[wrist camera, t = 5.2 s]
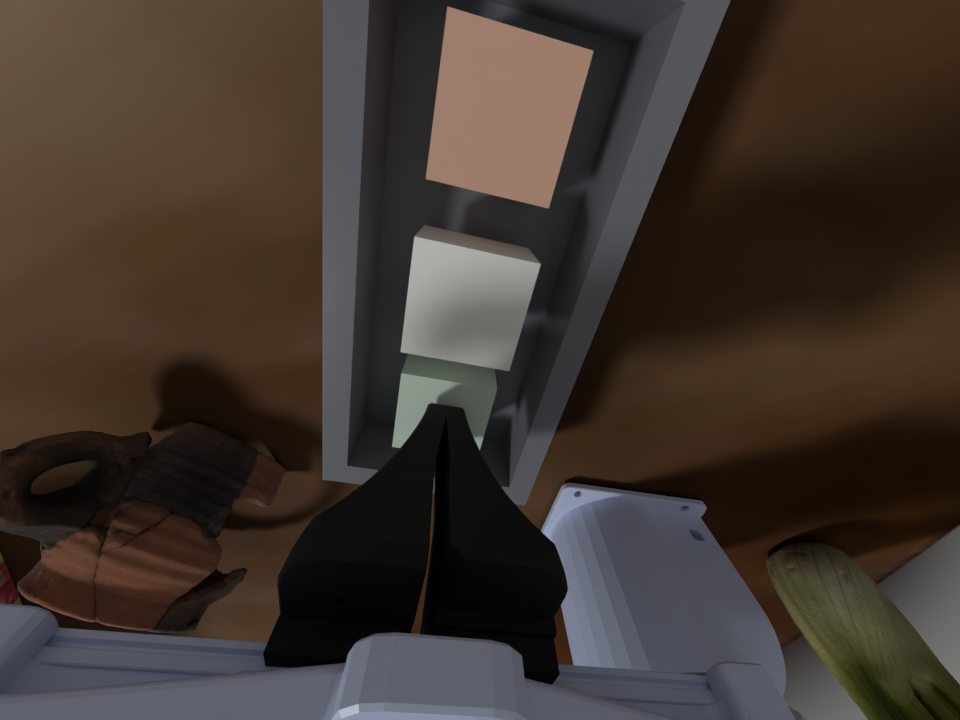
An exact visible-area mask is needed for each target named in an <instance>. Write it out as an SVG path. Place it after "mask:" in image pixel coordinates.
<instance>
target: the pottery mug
mask: <svg viewBox="0 0 960 720" xmlns="http://www.w3.org/2000/svg"><path fill="white" fill-rule="evenodd" d="M151 442H152V439H151V437H150V434H149V433H148V432H141V433H137V434H134V435H132V436H123V437H119V436H114V435H109V434H105V433H102V432H94V431H78V432H69V433H63V434H58V435H52V436H47V437H42V438H38V439H35V440H31V441H28V442H26V443H23V444H21V445H19V446H18V447H16V448H14V449H7V450H4V451H1V452H0V531H3V532H7V533H11V534H15V535H19V536H24V537H29V538H32V539H36V540H38V541H39V542H41V546H40V551H41V555H42V557H41V560H40V561H39V562H38V563H37V564H36V565H35V567H34V568H33V569H32V570H31V571H30V572H29V573H28V574H27V575H25V576H24V577H23V578H22V579H21V580H20V581H19V582H18V586H17V588H18V591H19V592H20V593H21V595H22V596H24V597H25V598H26V599H28V600H29V601H32V602H34V603H37V604H40V605H41V606H43V607H46V608H48V609H50V610H52V611H55V612H58V613H61V614H63V615H66V616H70V617H74V618H76V619H79V620H83V621H88V622H98V623H100V624H103V625H107V626H113V627H118V628H124V629H134V630H145V631H148V632H155V633H180V632H189V631H192V630H195V629H196V626H197V625H198V623H199V621H200V619H201V617H202V615H203V613H204V612H205V610H206V608H207V607H208V606H209V605H210V604H212V603H213V602H215V601H217V600H219V599H221V598H223V597H225V596H226V595H227V594H229V593H230V592H231V591H232V590H233V589H234V587H235V586H236V585H237V584H239V583H240V582H241V581H243V579H244V575H245V574H246V573H247V569H246V568H242V569H236V570H233V571H231V572H230V573H229V574H222V573H221V572H219V571H218V570H217V569H216V568H217V564H218V562H219V560H220V558H221V548H220V546H219V543H218V542H217V541H216V540H215V538H216V537H218V536H219V535H220V533H221V531H222V529H223V526H224V524H225V522H226V519H227V517H228V515H229V513H230V511H231V509H232V505H233V503H234V501H235V500H236V499H238V500H246V501H248V502H251V503H254V504H257V505H259V506H260V507H265V506H268V505H270V504H271V502H272V501H273V499H274V497H275V495H276V492H277V489H278V487H279V485H280V483H281V480H282V477H283V475H284V473H285V468H284V467H282V466H281V465H280V463H278V462H276V461H274V460H273V459H272V458H271V457H268V456H266V455H264V454H262V453H260V452H258V451H257V450H256V449H254V448H252V447H249V446H247V445H245V444H244V443H242V441H241V440H239V439H237V438H234V437H232V436H230V435H228V434H226V433H224V432H221V431H219V430H217V429H214V428H211V427H208V426H205V425H202V424H198V423H195V422H187V423H186V424H184V425H183V426H182V427H181V428H179V429H178V430H177V431H175V432H174V433H173V434H171V435H169V436H167V437H165V438H164V439H162V440H161V441H160V442H159V443H157V444H155V445H153V446H151V447H149V445H150V444H151ZM85 460H86V461H88V462H89V469H88V471H87V473H86V475H85V476H84V477H83V478H81V479H78V480H77V481H75V482H74V483H73V484H72V485H71V486H69V487H66V488H63V489H60V490H57V491H55V492H52V493H49V494H43V495H37V494H33V493H31V484H32V482H33V481H34V480H35V479H36V478H37V477H38V476H40V475H41V474H42V473H44V472H46V471H48V470H50V469H52V468H54V467H57V466H60V465H64V464H68V463H74V462H79V461H85ZM118 502H119V505H118V507H117V508H116V509H114V510H113V511H112V513H111V516H110V518H109V520H108V522H107V523H106V524H105V526H103V525H91V524H90V522H91V521H92V519H93V518H94V516H95V515H96V512H97V511H98V510H99V509H102V508H105V507H107V506H110V505H112V504H115V503H118Z"/></svg>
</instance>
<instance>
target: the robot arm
mask: <svg viewBox="0 0 960 720" xmlns="http://www.w3.org/2000/svg"><path fill="white" fill-rule="evenodd" d="M434 474H435V491H434V524H433V537H432V545H431V553H430V561H429V569H428V577H427V585H426V593H425V600H424V608H423V616H422V623H421V631H420V634H410V633H411V629H412V626H413V624H414V619H415V615H416V611H417V607H418V603H419V599H420V594H421V590H422V586H423V582H424V578H425V574H426V569H427V562H428V553H429V543H430V524H431V509H432V496H433V485H434ZM577 491H578V492H577ZM706 509H707V507H706V505H705V504H704V503H703V502H702V501H700V500H692V499H685V498H678V497H671V496H664V495H656V494H649V493H642V492H635V491H627V490H620V489H613V488H606V487H599V486H591V485H584V484H577V483H565V484H564V485H562V487H561V488H560V490H559V493H558V495H557V497H556V499H555V501H554V503H553V506H552V508H551V510H550V512H549V514H548V516H547V519H546V521H545V523H544V525H543V527H542V529H541V531H540V530H539V529H538V528H537V527H535V526H534V525H533V524H532V523H531V522H530V521H529V519H528V518H527V517H526V516H525V515H524V514H523V513H522V512H521V511H520V510H519V509H518V507H517V506H516V505H515V504H514V503H513V501H512V500H511V499H510V498H509V497H508V495H507V494H506V493H505V491H504V490H503V488H502V487H501V486H500V484H499V483H498V481H497V480H496V478H495V477H494V475H493V474H492V472H491V470H490V469H489V467H488V465H487V464H486V462H485V460H484V458H483V456H482V454H481V452H480V450H479V448H478V446H477V444H476V441H475V439H474V437H473V434H472V432H471V429H470V427H469V424H468V421H467V418H466V414H465V411H464V409H463V408H460V407H454V406H448V405H441V404H435V403H430V404H428V406H427V409H426V411H425V413H424V415H423V417H422V419H421V420H420V422H419V424H418V425H417V427H416V428H415V430H414V431H413V432H412V434H411V435H410V437H409V438H408V439H407V440H406V442H405V443H404V444H403V445H402V447H401V448H400V449H399V450H398V451H397V452H396V454H395V455H394V456H393V457H392V458H391V459H390V460H389V461H388V462H387V463H386V464H385V465H384V466H383V467H382V468H381V469H380V470H379V471H377V472H376V473H375V474H374V475H373V476H372V477H371V478H370V479H368V480H367V481H366V482H365V483H364V484H362V485H361V486H360V487H358V488H357V489H356V490H354V491H353V492H352V493H350V494H349V495H348V496H346V497H345V498H344V499H342V500H341V501H339V502H338V503H336V504H334V505H333V506H331V507H330V508H328V509H326V510H325V511H323V512H322V513H320V514H319V515H317V516H315V517H314V518H313V519H312V521H311V522H310V523H309V525H308V526H307V527H306V529H305V530H304V531H303V533H302V534H301V536H300V537H299V539H298V540H297V542H296V543H295V545H294V547H293V548H292V550H291V552H290V553H289V555H288V558H287V560H286V562H285V564H284V566H283V568H282V570H281V572H280V574H279V577H278V584H277V586H278V595H279V605H280V616H279V618H278V620H277V622H276V625H275V627H274V629H273V632H272V634H271V636H270V639H269V641H268V643H263V642H249V641H236V640H222V639H208V638H195V637H181V636H168V635H154V634H140V633H127V632H113V631H100V630H86V629H72V628H59V625H58V622H57V619H56V618H55V616H54V615H53V614H52V613H51V612H50V611H48V610H45V609H43V608H40V607H35V606H27V605H15V604H2V603H0V720H806V719H805V718H804V717H803V715H801V714H800V713H799V712H798V711H796V710H794V709H792V708H791V707H789V706H787V704H786V702H785V701H784V699H783V694H784V691H785V685H786V670H785V664H784V659H783V655H782V652H781V648H780V644H779V641H778V639H777V636H776V634H775V631H774V629H773V627H772V625H771V623H770V621H769V619H768V617H767V616H766V614H765V613H764V611H763V609H762V608H761V606H760V605H759V603H758V602H757V600H756V599H755V597H754V596H753V594H752V593H751V591H750V590H749V588H748V587H747V585H746V584H745V583H744V581H743V580H742V578H741V577H740V575H739V574H738V572H737V571H736V569H735V568H734V566H733V565H732V563H731V562H730V560H729V559H728V557H727V556H726V554H725V553H724V551H723V550H722V548H721V547H720V545H719V544H718V542H717V541H716V539H715V538H714V536H713V535H712V533H711V532H710V530H709V529H708V527H707V526H706V524H705V523H704V522H703V520H702V519H701V517H702V515H703V514H704V513H705V511H706ZM560 606H561V607H562V612H563V617H564V622H565V626H566V631H567V636H568V641H569V645H570V650H571V655H572V659H573V664H574V665H562V664H558V661H557V655H556V650H555V644H554V639H553V638H555V636H556V626H555V621H554V616H555V614H556V612H557V611H558V609H559V607H560Z"/></svg>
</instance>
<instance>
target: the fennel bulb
mask: <svg viewBox="0 0 960 720" xmlns="http://www.w3.org/2000/svg"><path fill="white" fill-rule="evenodd" d="M765 562H766V563H765V564H766V566H767V569H768V572H769V575H770V577H771V581H772V584H773V585H774V587H775V589H776V591H777V593H778V595H779V597H780V598H781V600H782V602H783V603H784V605H785V607H786V608H787V610H788V612H789V614H790V615H791V617H792V619H793V620H794V622H795V623H796V625H797V626H798V627H799V629H800V630H801V632H802V633H803V635H804V636H805V638H806V639H807V641H808V642H809V644H810V645H811V646H812V648H813V649H814V651H815V652H816V653H817V654H818V656H819V657H820V658H821V659H822V661H823V663H824V664H825V665H826V666H827V667H828V668H829V670H830V671H831V672H832V674H833V675H834V676H835V677H836V678H837V679H838V681H839V682H840V684H841V685H842V686H843V687H844V689H845V690H846V691H847V693H848V694H849V696H850V697H851V698H852V699H853V701H854V702H855V703H856V704H857V705H858V707H859V708H860V709H861V711H862V712H863V713H864V715H865V716H866V717H867V719H868V720H960V684H959V683H958V682H957V681H956V680H955V679H954V678H953V677H952V676H951V674H950V673H949V672H948V671H947V670H946V669H945V667H944V666H943V665H942V664H941V663H940V661H939V660H938V659H937V657H936V656H935V655H934V654H933V653H932V651H931V650H930V648H929V647H928V646H927V644H926V643H925V641H924V640H923V639H922V638H921V636H920V635H919V633H918V632H917V631H916V630H915V629H914V627H913V626H912V625H911V624H910V623H909V621H908V620H907V619H906V618H905V616H904V615H903V614H902V613H901V612H900V611H899V610H898V609H897V607H896V606H895V605H894V604H893V603H892V602H891V601H890V599H889V598H888V597H887V596H886V595H885V594H884V593H883V592H882V591H881V590H880V588H879V587H878V586H877V585H876V584H875V582H874V581H873V580H872V579H871V578H870V577H869V576H868V575H867V574H866V573H865V572H864V571H863V570H862V569H861V568H860V567H859V566H858V564H857V563H856V562H855V561H854V560H853V559H852V558H851V557H849V556H848V555H847V554H845V553H844V552H842V551H841V550H839V549H837V548H835V547H833V546H830V545H828V544H825V543H817V542H798V543H792V544H789V545H785V546H784V547H782V548H781V549H779V550H778V551H776V552H774V553H773V554H771V555H770V556H769V557H768V558H767V559H766V561H765Z"/></svg>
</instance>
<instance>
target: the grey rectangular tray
mask: <svg viewBox="0 0 960 720" xmlns="http://www.w3.org/2000/svg"><path fill="white" fill-rule="evenodd" d="M730 1H731V0H323V382H322V480H329V481H337V482H345V483H353V484H361V485H362V484H364V483H365V482H366V481H367V480H368V479H370V478H371V477H372V476H373V475H374V474H375V473H376V472H377V471H379V470H380V469H381V468H382V467H383V466H384V465H385V464H386V463H387V462H388V461H389V460H390V459H391V458H392V457H393V456H394V455H395V454H396V452H397V451H398V450H399V449H400V448H396V447H392V443H393V435H394V427H395V419H396V411H397V403H398V395H399V387H400V379H401V372H402V369H403V367H404V364H405V361H406V358H407V355H408V353H403V352H400V351H401V343H402V334H403V326H404V318H405V310H406V301H407V293H408V285H409V276H410V268H411V260H412V251H413V243H414V236H415V235H416V234H417V233H418V232H419V231H420V229H421V228H422V227H423V226H424V225H427V226H432V227H436V228H441V229H445V230H450V231H454V232H458V233H463V234H467V235H472V236H476V237H481V238H485V239H490V240H494V241H499V242H503V243H508V244H512V245H517V246H521V247H526V248H529V250H530V251H531V252H532V253H533V255H534V256H535V257H536V258H537V260H538V261H539V262H540V263H541V266H540V269H539V272H538V276H537V279H536V282H535V286H534V289H533V293H532V296H531V299H530V303H529V306H528V310H527V313H526V316H525V320H524V323H523V326H522V330H521V333H520V337H519V340H518V343H517V347H516V350H515V353H514V357H513V360H512V364H511V367H510V370H509V371H505V370H499V369H495V376H496V384H497V392H496V395H495V399H494V402H493V406H492V409H491V413H490V416H489V420H488V423H487V427H486V430H485V434H484V437H483V441H482V445H481V448H480V452H481V454H482V456H483V458H484V460H485V462H486V464H487V465H488V467H489V469H490V470H491V472H492V474H493V475H494V477H495V478H496V480H497V481H498V483H499V484H500V486H501V487H502V488H503V490H504V491H505V493H506V494H507V495H508V497H509V498H510V499H511V500H512V501H513V503H514V504H518V505H525V504H526V502H527V499H528V497H529V494H530V492H531V489H532V487H533V485H534V482H535V480H536V477H537V475H538V472H539V470H540V467H541V465H542V462H543V460H544V458H545V455H546V453H547V450H548V448H549V445H550V443H551V440H552V438H553V435H554V433H555V431H556V428H557V426H558V423H559V421H560V418H561V416H562V413H563V411H564V408H565V406H566V403H567V401H568V399H569V396H570V394H571V391H572V389H573V386H574V384H575V381H576V379H577V376H578V374H579V372H580V369H581V367H582V364H583V362H584V359H585V357H586V354H587V352H588V349H589V347H590V345H591V342H592V340H593V337H594V335H595V332H596V330H597V327H598V325H599V322H600V320H601V318H602V315H603V313H604V310H605V308H606V305H607V303H608V300H609V298H610V295H611V293H612V291H613V288H614V286H615V283H616V281H617V278H618V276H619V273H620V271H621V268H622V266H623V264H624V261H625V259H626V256H627V254H628V251H629V249H630V246H631V244H632V241H633V239H634V236H635V234H636V232H637V229H638V227H639V224H640V222H641V219H642V217H643V214H644V212H645V209H646V207H647V205H648V202H649V200H650V197H651V195H652V192H653V190H654V187H655V185H656V182H657V180H658V178H659V175H660V173H661V170H662V168H663V165H664V163H665V160H666V158H667V155H668V153H669V151H670V148H671V146H672V143H673V141H674V138H675V136H676V133H677V131H678V128H679V126H680V124H681V121H682V119H683V116H684V114H685V111H686V109H687V106H688V104H689V101H690V99H691V96H692V94H693V92H694V89H695V87H696V84H697V82H698V79H699V77H700V74H701V72H702V69H703V67H704V65H705V62H706V60H707V57H708V55H709V52H710V50H711V47H712V45H713V42H714V40H715V38H716V35H717V33H718V30H719V28H720V25H721V23H722V20H723V18H724V15H725V13H726V11H727V8H728V6H729V3H730ZM447 6H448V7H451V8H455V9H458V10H461V11H464V12H468V13H471V14H474V15H478V16H481V17H484V18H487V19H491V20H494V21H497V22H501V23H504V24H507V25H510V26H514V27H517V28H520V29H524V30H527V31H530V32H533V33H537V34H540V35H543V36H547V37H550V38H553V39H557V40H560V41H563V42H566V43H570V44H573V45H576V46H580V47H583V48H586V49H589V50H593V51H594V52H593V55H592V59H591V62H590V66H589V69H588V73H587V76H586V80H585V83H584V87H583V90H582V94H581V97H580V101H579V104H578V108H577V111H576V115H575V118H574V122H573V126H572V129H571V133H570V136H569V140H568V143H567V147H566V150H565V154H564V157H563V161H562V164H561V168H560V171H559V175H558V178H557V182H556V185H555V189H554V192H553V196H552V199H551V203H550V206H549V208H544V207H540V206H536V205H532V204H528V203H524V202H519V201H515V200H511V199H507V198H503V197H499V196H494V195H490V194H486V193H482V192H478V191H474V190H469V189H465V188H461V187H457V186H453V185H449V184H444V183H440V182H436V181H432V180H428V179H426V172H427V164H428V156H429V149H430V141H431V133H432V125H433V117H434V109H435V101H436V93H437V85H438V77H439V69H440V61H441V53H442V45H443V37H444V29H445V21H446V13H447ZM434 491H435V474H434V485H433V494H434Z"/></svg>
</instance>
